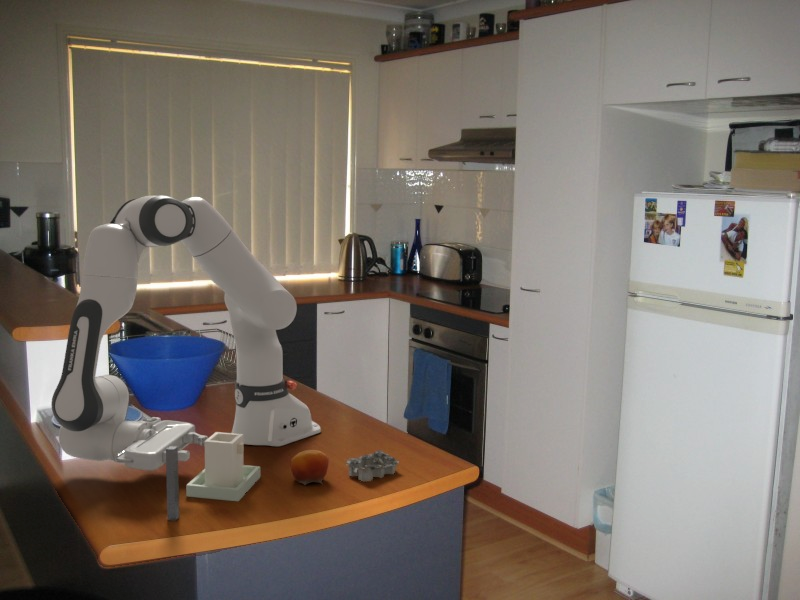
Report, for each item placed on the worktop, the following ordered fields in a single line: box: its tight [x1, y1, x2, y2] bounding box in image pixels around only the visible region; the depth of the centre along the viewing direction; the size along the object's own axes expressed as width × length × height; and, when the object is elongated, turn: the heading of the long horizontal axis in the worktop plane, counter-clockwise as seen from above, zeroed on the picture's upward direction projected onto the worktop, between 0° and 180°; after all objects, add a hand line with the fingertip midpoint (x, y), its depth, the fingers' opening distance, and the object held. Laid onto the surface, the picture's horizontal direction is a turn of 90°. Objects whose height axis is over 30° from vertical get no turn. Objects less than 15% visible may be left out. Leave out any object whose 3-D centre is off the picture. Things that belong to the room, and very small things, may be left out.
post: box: [165, 446, 180, 522], centre depth 150 cm, size 2×2×14 cm
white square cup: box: [204, 431, 245, 488], centre depth 166 cm, size 6×7×10 cm
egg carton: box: [345, 449, 400, 482], centre depth 176 cm, size 11×8×4 cm
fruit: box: [290, 449, 330, 486], centre depth 170 cm, size 8×8×8 cm
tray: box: [185, 464, 261, 502], centre depth 166 cm, size 13×11×2 cm
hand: (197, 448), depth 166 cm, fingers open, 8 cm apart
